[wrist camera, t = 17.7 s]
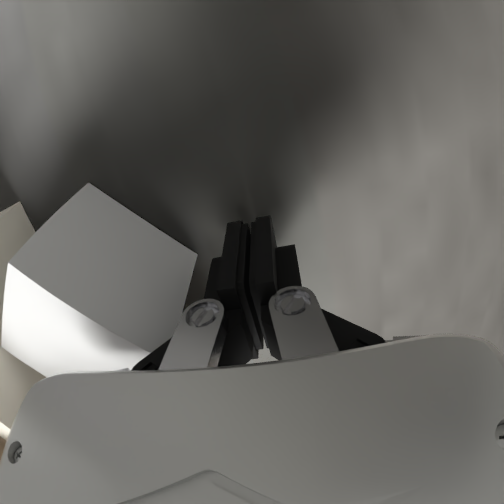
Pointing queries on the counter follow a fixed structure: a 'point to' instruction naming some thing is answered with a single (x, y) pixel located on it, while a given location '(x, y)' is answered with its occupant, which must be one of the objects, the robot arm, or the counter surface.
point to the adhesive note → (93, 289)
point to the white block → (3, 363)
